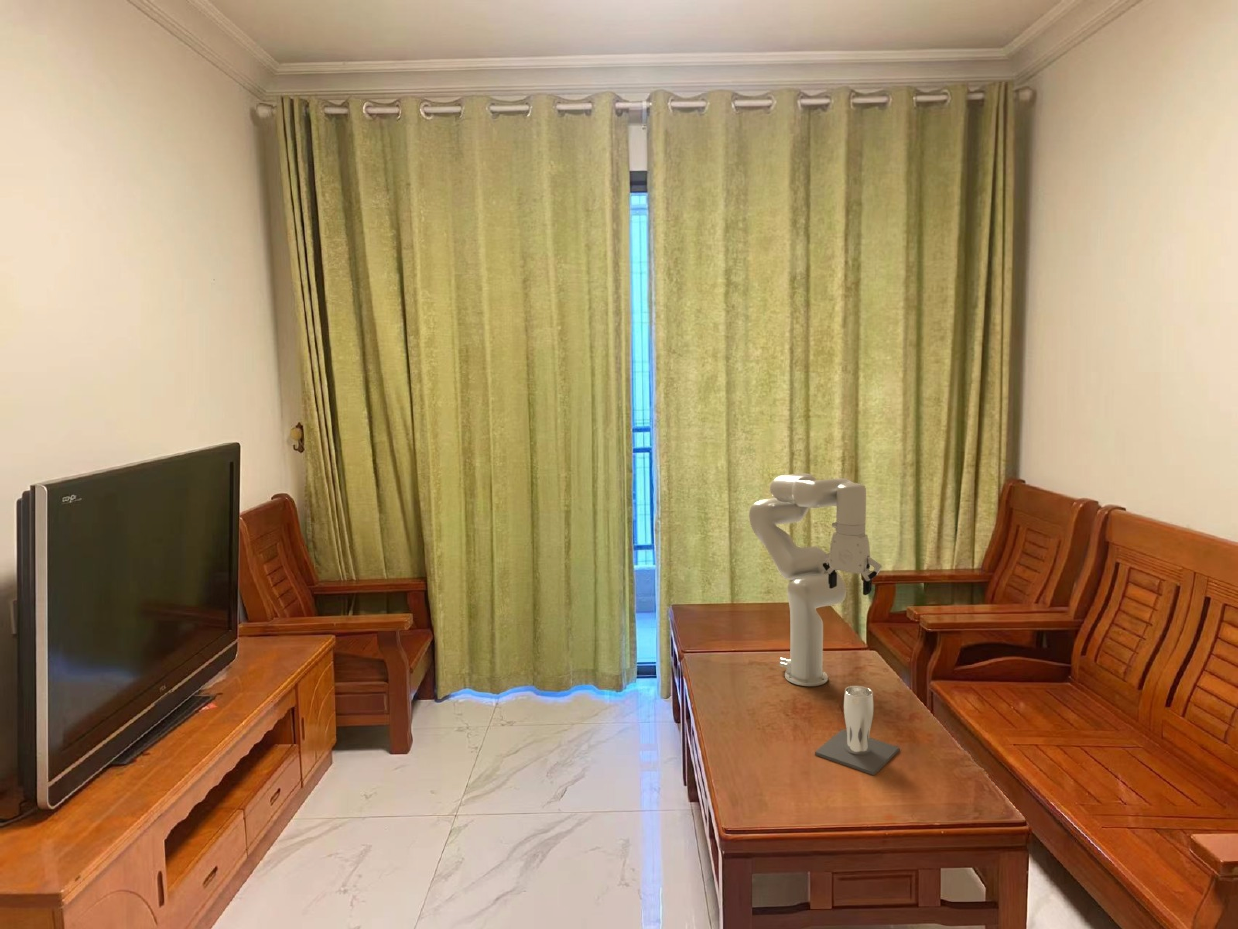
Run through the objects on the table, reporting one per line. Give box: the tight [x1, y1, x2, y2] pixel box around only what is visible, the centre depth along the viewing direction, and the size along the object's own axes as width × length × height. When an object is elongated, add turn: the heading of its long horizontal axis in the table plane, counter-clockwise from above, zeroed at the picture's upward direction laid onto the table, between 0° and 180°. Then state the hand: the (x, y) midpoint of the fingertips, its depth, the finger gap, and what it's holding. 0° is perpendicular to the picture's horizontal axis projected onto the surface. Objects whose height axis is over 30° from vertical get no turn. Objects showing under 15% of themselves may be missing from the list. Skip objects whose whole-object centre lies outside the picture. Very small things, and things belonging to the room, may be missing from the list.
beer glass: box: [843, 685, 874, 755], centre depth 190 cm, size 7×7×15 cm
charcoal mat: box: [814, 729, 900, 776], centre depth 191 cm, size 15×15×1 cm
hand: (849, 590), depth 211 cm, fingers open, 9 cm apart
